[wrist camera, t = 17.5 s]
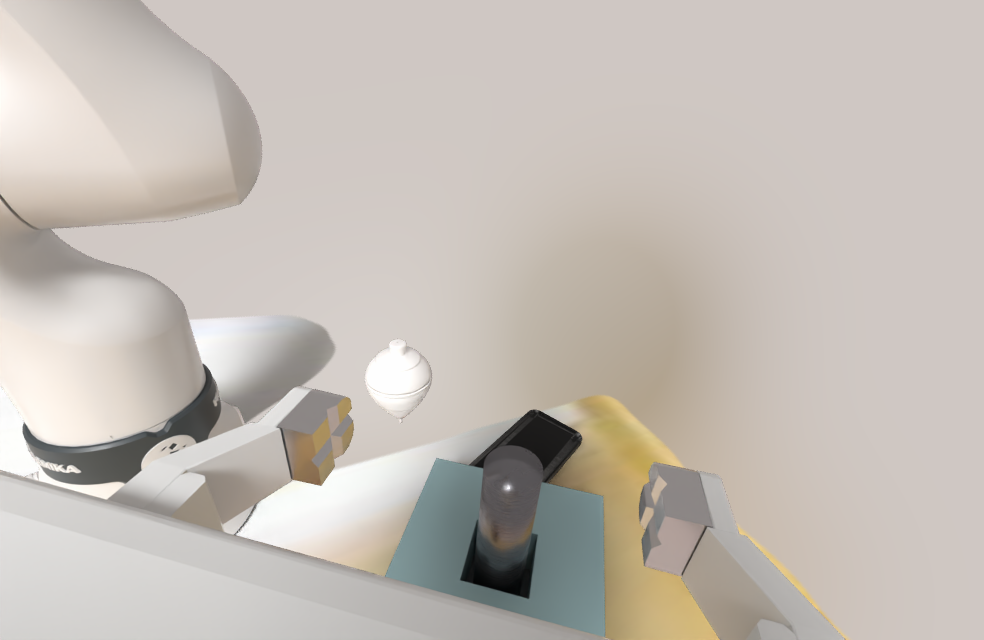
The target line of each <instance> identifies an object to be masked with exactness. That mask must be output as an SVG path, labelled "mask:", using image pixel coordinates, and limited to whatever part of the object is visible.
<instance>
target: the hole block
mask: <svg viewBox="0 0 984 640" xmlns="http://www.w3.org/2000/svg"><path fill="white" fill-rule="evenodd" d="M482 477H483V469H482V468H478V467H474V466H469V465H465V464H461V463H456V462H452V461H447V460H443V459H439V458H436V461H435V463H434V465H433V467H432V470H431V472H430V474H429V477H428V479H427V481H426V483H425V486H424V488H423V490H422V493H421V495H420V497H419V499H418V502H417V504H416V506H415V509H414V511H413V513H412V515H411V518H410V520H409V522H408V525H407V527H406V529H405V532H404V534H403V536H402V538H401V541H400V543H399V545H398V548H397V550H396V552H395V554H394V557H393V559H392V561H391V564H390V566H389V568H388V570H387V573H386V575H385V577H388V578H392V579H395V580H399V581H402V582H406V583H410V584H413V585H417V586H420V587H424V588H428V589H431V590H435V591H439V592H442V593H446V594H449V595H453V596H457V597H460V598H464V599H467V600H471V601H475V602H478V603H482V604H486V605H489V606H493V607H496V608H500V609H504V610H507V611H511V612H515V613H518V614H522V615H526V616H529V617H533V618H536V619H540V620H544V621H547V622H551V623H555V624H558V625H562V626H565V627H569V628H573V629H576V630H580V631H584V632H587V633H591V634H594V635H598V636H602V637H605V588H604V510H603V496H600V495H596V494H592V493H587V492H583V491H578V490H574V489H570V488H565V487H561V486H557V485H552V484H548V483H543V482H542V484H541V489H540V494H539V499H538V504H537V509H536V514H535V520H534V525H533V530H532V535H531V540H530V545H529V550H528V555H527V560H526V565H525V570H524V576H523V581H522V586H521V591H520V596H516V595H512V594H509V593H505V592H501V591H498V590H494V589H490V588H487V587H483V586H479V585H476V584H472V583H473V572H474V562H475V551H476V541H477V530H478V520H479V509H480V499H481V488H482Z"/></svg>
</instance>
